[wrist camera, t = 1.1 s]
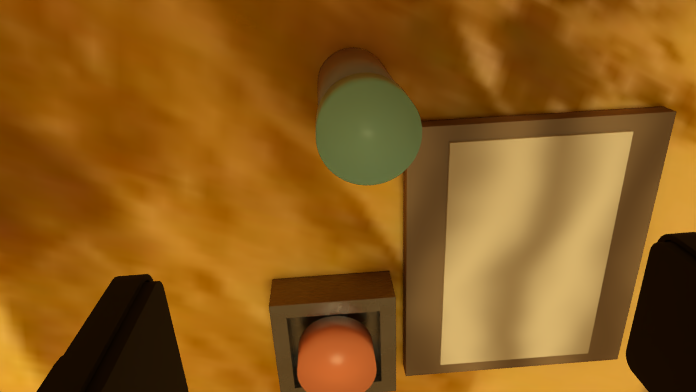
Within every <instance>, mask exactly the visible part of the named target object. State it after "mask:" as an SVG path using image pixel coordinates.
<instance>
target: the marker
mask: <svg viewBox="0 0 696 392" xmlns="http://www.w3.org/2000/svg"><path fill="white" fill-rule="evenodd" d="M421 141H422V124H421V119H420V116H419V113H418V111H417V109H416V107H415V106H414V104H413V103H412V101H411V100H410V99H409V97H408V96H407V94H406V93H405V92H404V90H403V89H402V88H401V87H400V86H399V85H398V84H397V83H395V82H394V81H393V79H392V78H391V76H390V75H389V74H388V72H387V71H386V69H385V68H384V66H383V65H382V64H381V62H380V61H379V60H378V59H377V57H375V56H374V55H373V54H372V53H370V52H368V51H366V50H364V49H360V48H345V49H342V50H339V51H337V52H335V53H333V54H332V55H331V56H330V57H329V58H328V59H327V60H326V61H325V62H324V63H323V65H322V67H321V69H320V72H319V75H318V109H317V114H316V144H317V148H318V152H319V154H320V157H321V159H322V160H323V162H324V164H325V165H326V166H327V167H328V169H329V170H330V171H331V172H333V173H334V174H335V175H336V176H338V177H339V178H341V179H343V180H345V181H347V182H350V183H354V184H358V185H376V184H381V183H384V182H387V181H390V180H392V179H394V178H395V177H397V176H399V175H400V174H401V173H403V172H404V171H405V170H406V169H407V168H408V167H409V166H410V165H411V163H412V162H413V160H414V159H415V157H416V155H417V153H418V151H419V148H420V145H421Z"/></svg>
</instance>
